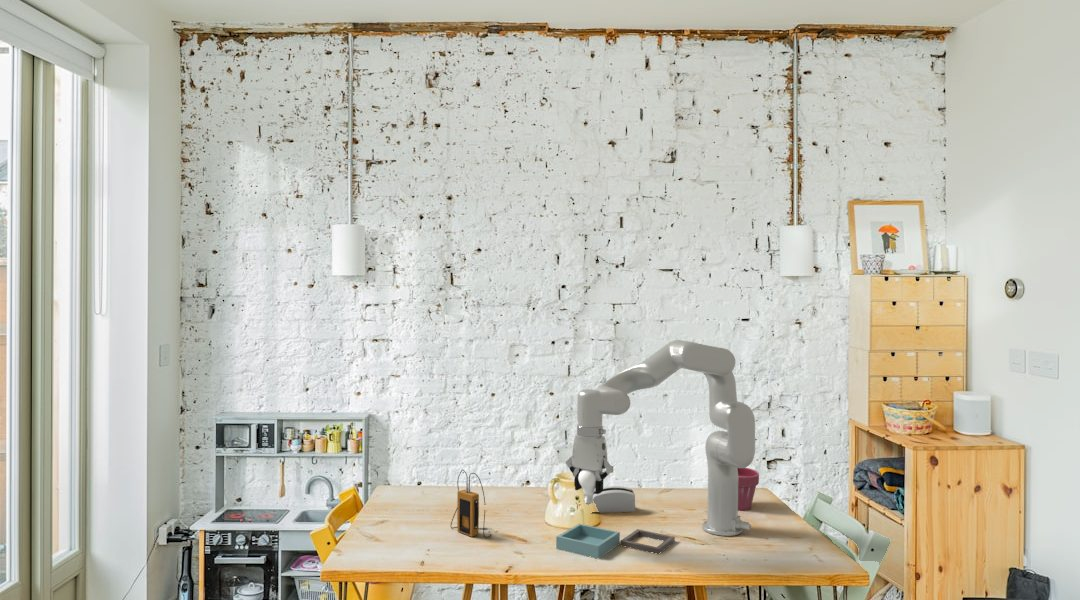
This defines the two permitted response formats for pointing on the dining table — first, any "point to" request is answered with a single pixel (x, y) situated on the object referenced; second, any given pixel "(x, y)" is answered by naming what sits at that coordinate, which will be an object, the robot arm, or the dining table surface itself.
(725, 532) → the robot arm
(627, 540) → the dark brown square frame
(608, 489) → the grey rounded block
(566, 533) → the parts tray
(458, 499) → the multimeter
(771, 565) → the dining table surface
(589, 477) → the lightbulb
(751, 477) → the plant pot
